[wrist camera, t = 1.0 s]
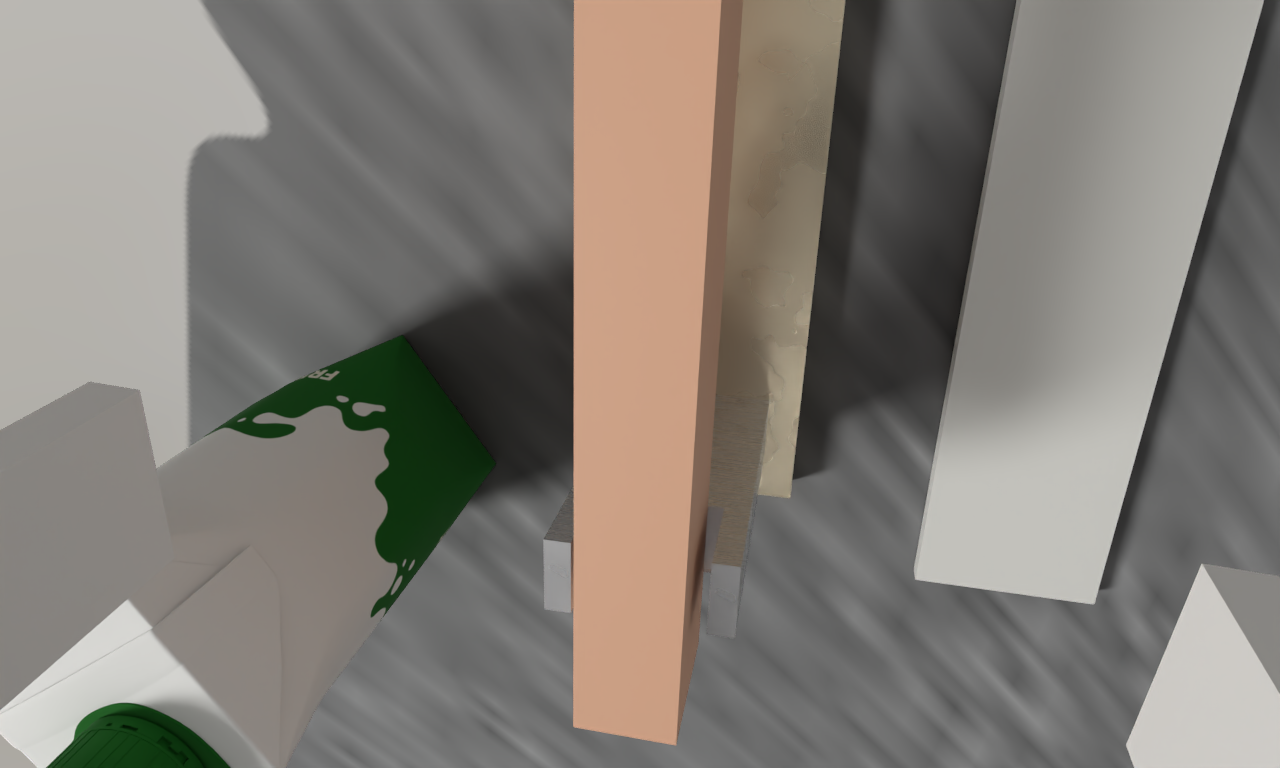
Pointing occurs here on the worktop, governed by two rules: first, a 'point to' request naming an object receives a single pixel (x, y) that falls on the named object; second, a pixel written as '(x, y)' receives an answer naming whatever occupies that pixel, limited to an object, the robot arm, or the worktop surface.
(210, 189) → the worktop surface
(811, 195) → the hook stand
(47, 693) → the milk carton
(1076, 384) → the mat
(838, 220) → the worktop surface
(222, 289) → the worktop surface
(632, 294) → the rail
